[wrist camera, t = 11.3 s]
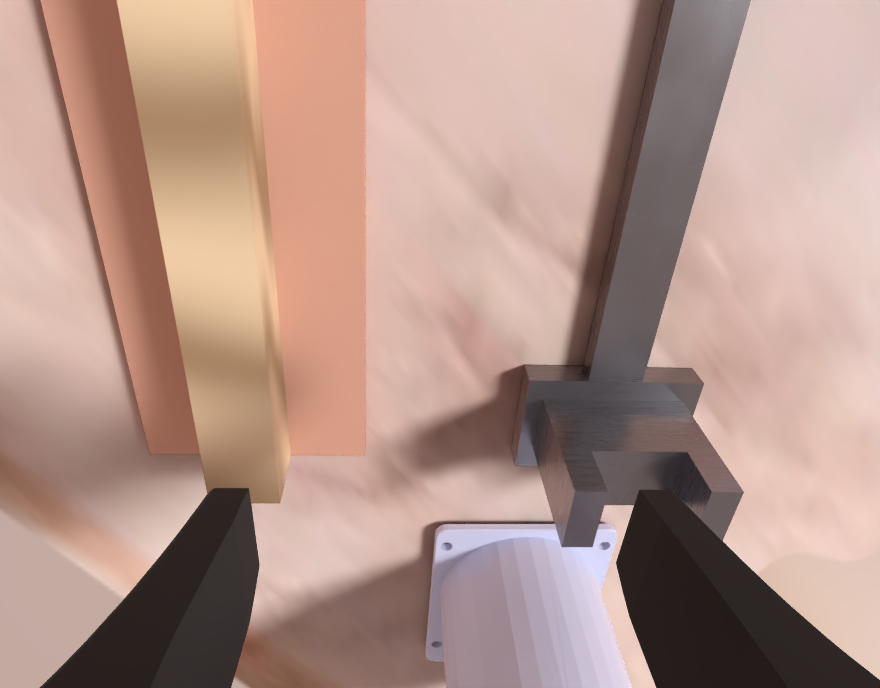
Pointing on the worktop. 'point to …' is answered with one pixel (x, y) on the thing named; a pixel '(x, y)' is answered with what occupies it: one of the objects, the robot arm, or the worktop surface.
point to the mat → (291, 208)
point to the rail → (215, 227)
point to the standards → (640, 310)
